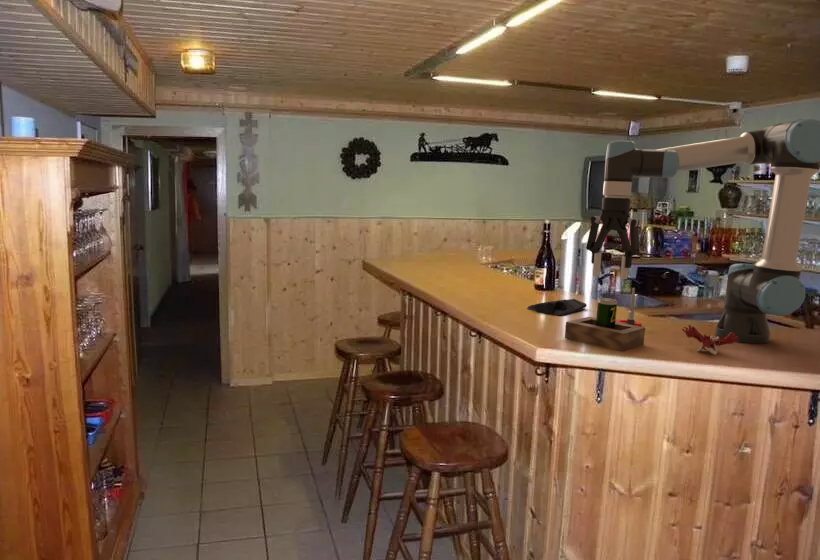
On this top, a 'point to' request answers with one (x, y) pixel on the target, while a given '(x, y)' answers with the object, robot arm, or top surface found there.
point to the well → (605, 334)
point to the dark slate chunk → (558, 307)
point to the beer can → (606, 313)
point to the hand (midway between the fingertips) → (609, 277)
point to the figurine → (710, 339)
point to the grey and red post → (631, 312)
